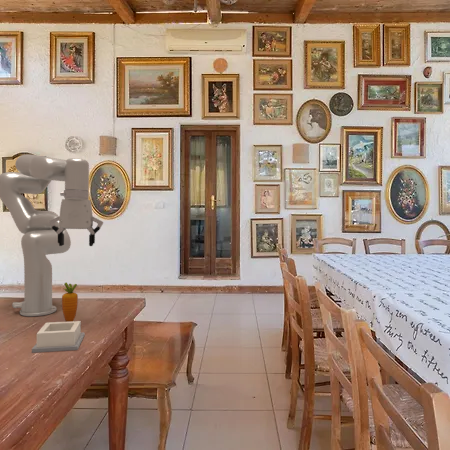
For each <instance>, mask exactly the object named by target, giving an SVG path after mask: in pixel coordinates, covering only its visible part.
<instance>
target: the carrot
mask: <svg viewBox="0 0 450 450" xmlns="http://www.w3.org/2000/svg"><path fill="white" fill-rule="evenodd" d="M64 286H65V288H64V289H63V290H64V291H65V293H64V294H62V296H61V305H62V306H61V307H62V313H63V318H64V320H65V322H71V321H74V320H75V318H76V315H77V310H78V303H79V302H78V301H79V300H78V297H79V296H78V294H77V293H76V292H74V291H75V289H76V287H77V286H78V284H77V283H74V284H73V286H72V283H68V282H64Z"/></svg>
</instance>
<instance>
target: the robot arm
mask: <svg viewBox="0 0 450 450" xmlns="http://www.w3.org/2000/svg"><path fill="white" fill-rule="evenodd" d="M14 165H15V168H16V170H17V172H16V171H15V172H14V171H7V172H2V173H0V201H1V202H2V204H3V205H5V207H6V208H7V210H8V211H9V213H10V215H11V217H12V219H13V222H14V224H15V227H16V228H17V229H18V231H19V232H20V233H21V234H23V235H22V237H21V240H20V242H21V249H22V254H23V255H22V256H23V264H24V265H23V267H24V268H23V271H24V272H23V273H24V274H23V275H24V277H23V279H24V282H23V283H24V285H23V286H24V287H23V289H24V290H23V292H24V295H23V296H24V297H23V298H24V299H23V300H22V301H20V302H19V301H13V302H12V308H13V309H20V310H19V315H21V316H23V317H40V316H46V315H50V314H53V313H55V312H56V311H57V306H56V305H53V265H52V263H51V261H50V260H49V258H48V257H47V255H55V254H56V255H57V254H63V253H66V252H67V251H69V250H70V249H71V245H72V242H71V241H72V240H71V237H70V234H69V232H68V231H67V229H68V230H69V229H70V230H87V231H88V232H89V233H90V234H89V236H88V240H89V241H88V246H89V247H93V246H94V244H96V243H95V241H96V237H95V236H96V234H97V232H99V231H100V230H101V228H102V226H103V224H104V221H102V220H100V219H99V218H97V217H95V216H93V207H92V202H91V199H89V195H90V194H89V192H90V191H89V190H90V189H89V188H90V187H89V185H90V174H89V173H90V172H89V171H90V168H89V167H90V164H89V162H88V160H86V159H83V158H68V159H61V158H53V157H49V156H46V155H40V154H39V155H37V154H29V153H28V154H27V153H26V154H22V155H20V156H19V157H17V158H16V161H15V164H14ZM52 181H54V182H55V181H56V182H57V181H58V182H64V190H63V191H60V193H59V194H60V197H64V198H62V199H61V203H60V209H59V215H58V214H57V213H56V212H54V211H50V210H38V209H35V207H34V206H33V204H32V202H31V200H29V199H28V198H27V197H25V196H24V195H25V194H26V195H28V194H29V195H38V194H41V193H42V194H43V192H44V191H45V190H46V188H47V187H48V186H49V184H50V183H51V182H52ZM22 194H24V195H22ZM93 222H95V223H96V224H97V226H96V227H95V228H93V225H94V223H93Z"/></svg>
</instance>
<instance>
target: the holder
mask: <svg viewBox="0 0 450 450" xmlns="http://www.w3.org/2000/svg"><path fill="white" fill-rule="evenodd" d="M81 325H82V323H81V320H77V321H71V322H66V321H55V322H45V323H44V325H42V327H41V328H39V331H37V333H36V343H35V344H34V346H32V348H31V353H33V354H34V353H47V352H63V351H64V352H65V351H77V350H78V351H79V349H80V346H81V344H82V342H83V339H84V338H85V332H81V331H82V327H81Z"/></svg>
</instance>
